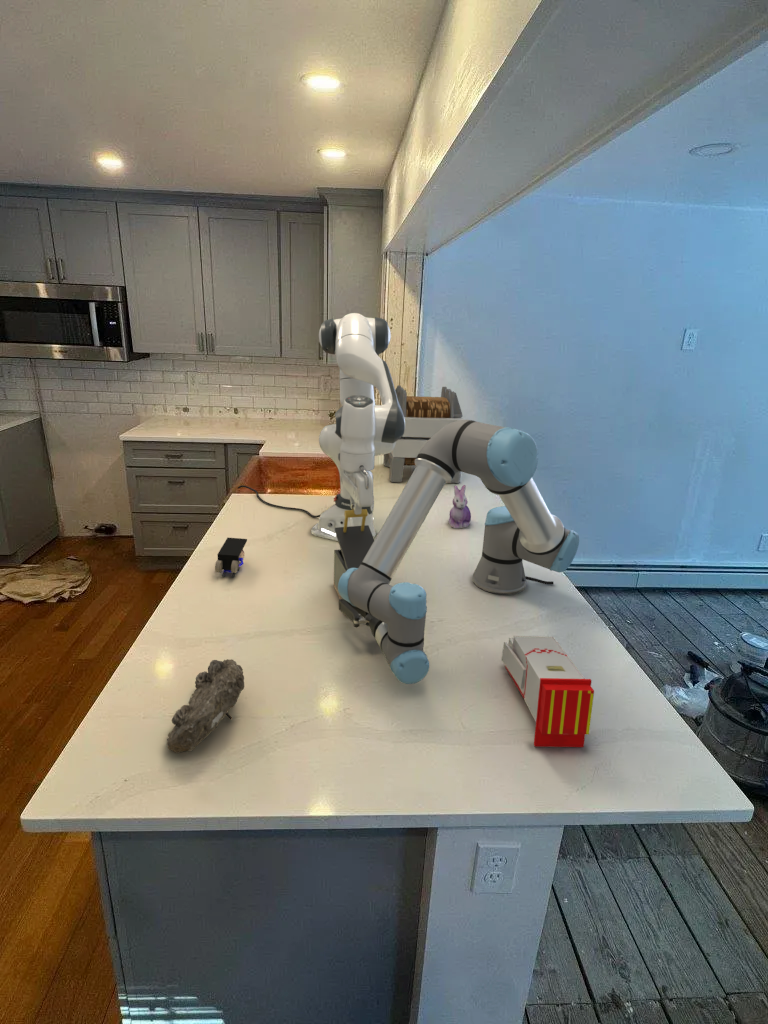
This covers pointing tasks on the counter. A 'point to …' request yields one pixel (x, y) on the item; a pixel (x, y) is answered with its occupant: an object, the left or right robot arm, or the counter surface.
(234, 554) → the figurine character
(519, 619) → the counter surface
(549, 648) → the toy
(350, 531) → the lid
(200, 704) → the fossil
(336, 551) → the chest
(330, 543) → the counter surface
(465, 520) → the figurine
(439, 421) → the transformer
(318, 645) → the counter surface
